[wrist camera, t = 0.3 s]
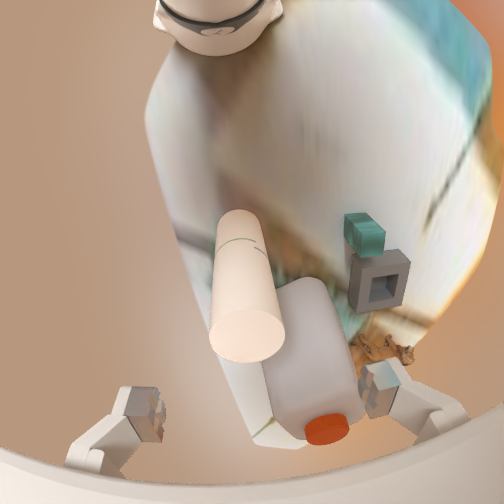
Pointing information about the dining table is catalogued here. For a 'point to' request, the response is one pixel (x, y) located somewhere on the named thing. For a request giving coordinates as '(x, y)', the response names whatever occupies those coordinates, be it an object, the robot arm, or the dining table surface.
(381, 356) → the lion figurine
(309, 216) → the dining table surface
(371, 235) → the teal pin
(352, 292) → the bore block
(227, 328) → the cylindrical container
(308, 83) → the dining table surface
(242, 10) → the robot arm
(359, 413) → the plastic bottle
